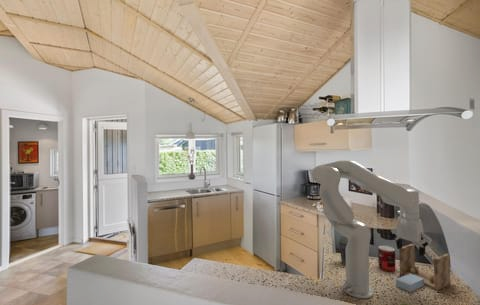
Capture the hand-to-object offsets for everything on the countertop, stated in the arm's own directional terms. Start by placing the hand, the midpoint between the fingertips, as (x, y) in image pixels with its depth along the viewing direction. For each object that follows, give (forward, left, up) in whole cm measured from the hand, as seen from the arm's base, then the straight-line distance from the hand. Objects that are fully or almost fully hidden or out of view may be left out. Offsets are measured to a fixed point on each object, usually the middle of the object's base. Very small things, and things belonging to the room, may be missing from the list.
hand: (410, 251), depth 115 cm
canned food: (+8, +16, -16) cm, 24 cm away
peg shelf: (+12, 0, -16) cm, 20 cm away
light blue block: (0, 0, -16) cm, 16 cm away
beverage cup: (-6, +31, -16) cm, 36 cm away
